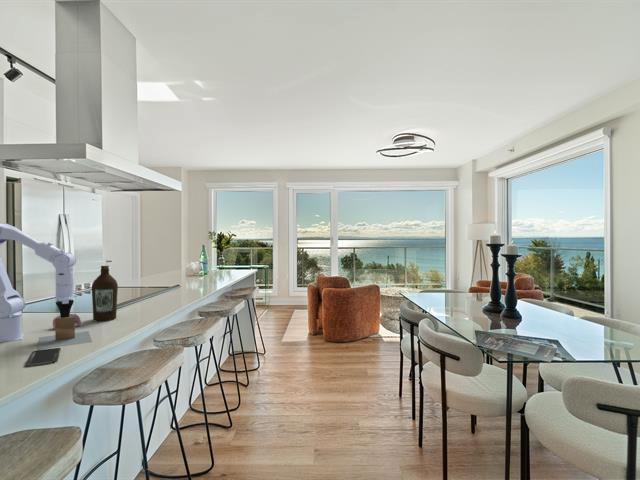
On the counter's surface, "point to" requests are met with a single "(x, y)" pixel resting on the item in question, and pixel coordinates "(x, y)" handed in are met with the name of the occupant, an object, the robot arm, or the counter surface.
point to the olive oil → (104, 296)
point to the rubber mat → (50, 340)
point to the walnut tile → (64, 328)
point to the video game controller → (77, 319)
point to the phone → (43, 357)
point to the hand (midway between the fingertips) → (64, 319)
